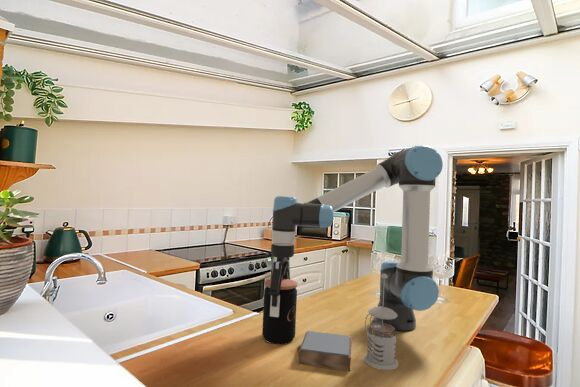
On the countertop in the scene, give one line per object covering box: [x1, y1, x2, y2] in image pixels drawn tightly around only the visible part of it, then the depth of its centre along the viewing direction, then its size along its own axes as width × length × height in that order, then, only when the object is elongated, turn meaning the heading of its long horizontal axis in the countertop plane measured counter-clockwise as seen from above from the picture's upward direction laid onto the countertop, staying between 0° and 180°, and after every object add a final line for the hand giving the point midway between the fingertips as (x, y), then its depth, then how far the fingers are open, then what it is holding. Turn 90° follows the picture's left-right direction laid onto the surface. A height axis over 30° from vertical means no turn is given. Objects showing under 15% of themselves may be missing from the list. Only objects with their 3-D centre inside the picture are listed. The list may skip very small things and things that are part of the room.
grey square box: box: [298, 330, 352, 372], centre depth 98 cm, size 14×14×4 cm
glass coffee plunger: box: [362, 274, 399, 371], centre depth 98 cm, size 10×12×25 cm
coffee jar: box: [261, 278, 298, 345], centre depth 109 cm, size 11×11×18 cm
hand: (279, 309), depth 109 cm, fingers open, 13 cm apart
